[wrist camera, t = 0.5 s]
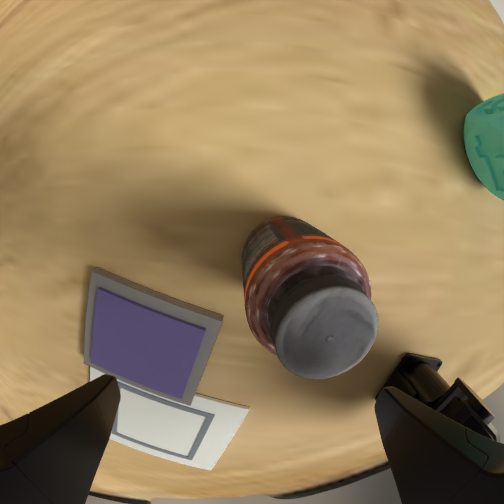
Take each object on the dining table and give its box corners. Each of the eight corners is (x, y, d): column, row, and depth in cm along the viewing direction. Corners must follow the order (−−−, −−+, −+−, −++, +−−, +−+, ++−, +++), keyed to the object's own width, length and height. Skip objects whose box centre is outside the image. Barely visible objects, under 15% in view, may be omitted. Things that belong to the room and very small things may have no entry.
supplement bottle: (235, 287, 20) (230, 392, 10) (250, 207, 19) (262, 241, 8) (311, 299, 21) (367, 398, 10) (330, 224, 20) (421, 272, 9)
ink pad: (223, 315, 21) (222, 324, 20) (191, 399, 23) (189, 408, 22) (97, 267, 20) (89, 272, 18) (87, 357, 22) (81, 365, 20)
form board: (249, 406, 24) (249, 410, 23) (211, 468, 27) (210, 471, 26) (92, 352, 22) (90, 355, 21) (92, 428, 25) (91, 431, 24)
